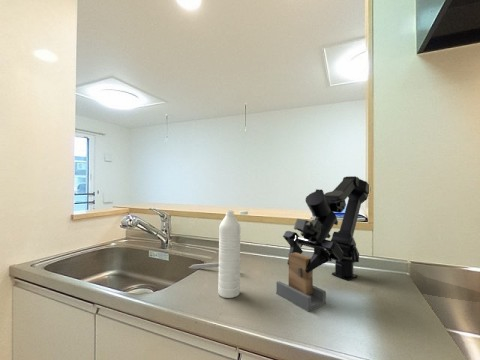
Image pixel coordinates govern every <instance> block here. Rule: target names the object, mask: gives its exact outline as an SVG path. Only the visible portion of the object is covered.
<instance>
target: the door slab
mask: <svg viewBox="0 0 480 360" xmlns="http://www.w3.org/2000/svg"><path fill="white" fill-rule="evenodd" d="M289 253H290V252H289ZM289 253H288V258H289V265H288V286H290V287H292V288H294V289H296V290H298V291H300V292H302V293H304V294H306V295H309V294H312V293H313V286H314V285H313V283H314V281H313V280H314V279H313V276H314V275H313V270H314V269H313V270H312V271H310V272H309V273H306V271H305V269H306V267H307V265H308V263H309V261H310V259H311V257H312V256H309V255H305V254H302V253H301V254H299V253H296V252H295V253H290V254H289Z"/></svg>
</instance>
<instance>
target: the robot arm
mask: <svg viewBox="0 0 480 360" xmlns="http://www.w3.org/2000/svg"><path fill="white" fill-rule="evenodd" d="M369 185H370V184H369V183H368V181H366V180H364V179H361V178H359V177H358V176H355V175H354V176H349V175H348V176H344V177H343V178H342V181H341V182H340V183H339V184H338V185H337V186H336V187H335V188H334V189H333V190H332V191H329V192H325V193H324V190H323V189H317V188H316V189H315V191H314V192H311V193H309V194H308V195H307V196H305V203H306V205H307V207H308V209H309V211H310V212H311V214H312V216H313V217H314V219H312V220H308V219H307V220H306V219H302V218H296V221H295V223H294V226H293V229H294V230H295V231H290V230H287V231H285V232H284V234H283V235H282V237H283V239H285V241H286V242H287V243H288V244H289V253H288V255H289V254H290V253H295V252H296V253H299V254H302V253H303V252H304V251H303V250H302V247H303V246H305V247H309V248H311V249H313V254H312V255H311V256H310V257H311V259H310V261H309V263H308V265H307V267H306V269H305V271H306V273H309V272H310V271H312V270H315V269H317V268H318V267H320V266H323V264H325V263H327V262H332V261H335V263H334V264H335V265H334V269H335V271H334V272H331V275H332V276H335V277H338V278H340V279H343V280H346V281H349V280H352V279H355V278H358V274H355V273H354V264H355V263H359V262H360V252H359V250H358V248H357V243H356V240H355V238H354V234H355V230H356V225H357V222H358V218H359V213H360V210H361V205H362V204H363V203H364V202H365V201H367V199H368V197H369V195H370V194H369ZM368 194H369V195H368ZM347 198H348V200H347ZM346 200H347V204H346ZM343 211H344V214H343V217H342V221H341V225H340V228H339V230H338V231H333V233H332V235H331V234H330V233H331V231H332V228H333V226H335V225H336V226H337V225H339V221H338V216H336V214H335V213H337V214H338V213H339V214H341V213H343ZM296 230H297V231H298V232H299V233H300V236H301V237H300V236H299V234H298V233H297V232H296ZM331 236H332V237H331ZM330 238H331V239H330ZM329 239H330V240H329ZM287 266H289V257H288V259H287Z"/></svg>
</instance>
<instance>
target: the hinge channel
mask: <svg viewBox="0 0 480 360" xmlns="http://www.w3.org/2000/svg"><path fill="white" fill-rule="evenodd" d="M275 291H276V295H278V296H280V297H282V298H283V299H285V300H287V301H289V302H291V303H292V304H294V305H296V306H297V307H299V308H301V309H302V310H304V311H306V312H310V311H313V310H315V309H318V308H319V307H321V306H324V305H326V303H327V302H326V301H327V299H326V298H327V293H326V290H323V289H322V288H320V287H317V286H315V285H313V293H312V294H309V295H306V294H304V293H302V292H300V291H298V290H296V289H294V288H292V287H290V286H289V284H286V283H284V282H282V281H281V280H277V281H276V290H275Z"/></svg>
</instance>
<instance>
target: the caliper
mask: <svg viewBox="0 0 480 360" xmlns="http://www.w3.org/2000/svg"><path fill="white" fill-rule="evenodd" d="M188 268H189V269H194V270H197V269H198V270H200V269H209V268H219V261H218V262H210V263H207V262H206V263H199V264H197V263H196V264H191V266H188Z"/></svg>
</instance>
